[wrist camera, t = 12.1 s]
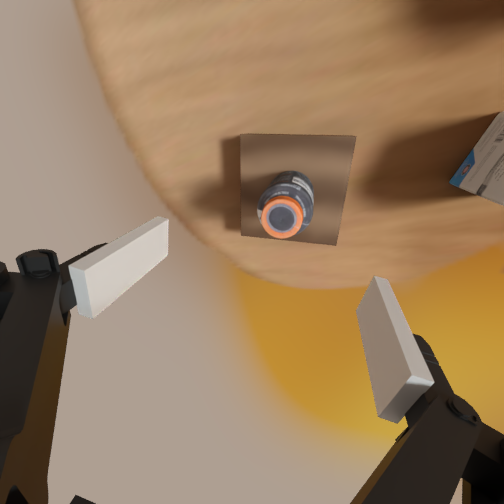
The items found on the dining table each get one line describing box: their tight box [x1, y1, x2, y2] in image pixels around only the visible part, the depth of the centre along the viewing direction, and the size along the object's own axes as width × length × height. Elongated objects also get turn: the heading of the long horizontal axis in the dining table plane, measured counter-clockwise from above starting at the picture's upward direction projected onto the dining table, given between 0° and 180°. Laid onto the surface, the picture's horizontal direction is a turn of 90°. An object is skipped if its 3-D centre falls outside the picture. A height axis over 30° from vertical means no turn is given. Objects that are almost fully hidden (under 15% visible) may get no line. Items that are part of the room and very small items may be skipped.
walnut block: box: [240, 134, 356, 246], centre depth 35 cm, size 14×14×4 cm
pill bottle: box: [257, 171, 314, 239], centre depth 28 cm, size 6×6×11 cm
